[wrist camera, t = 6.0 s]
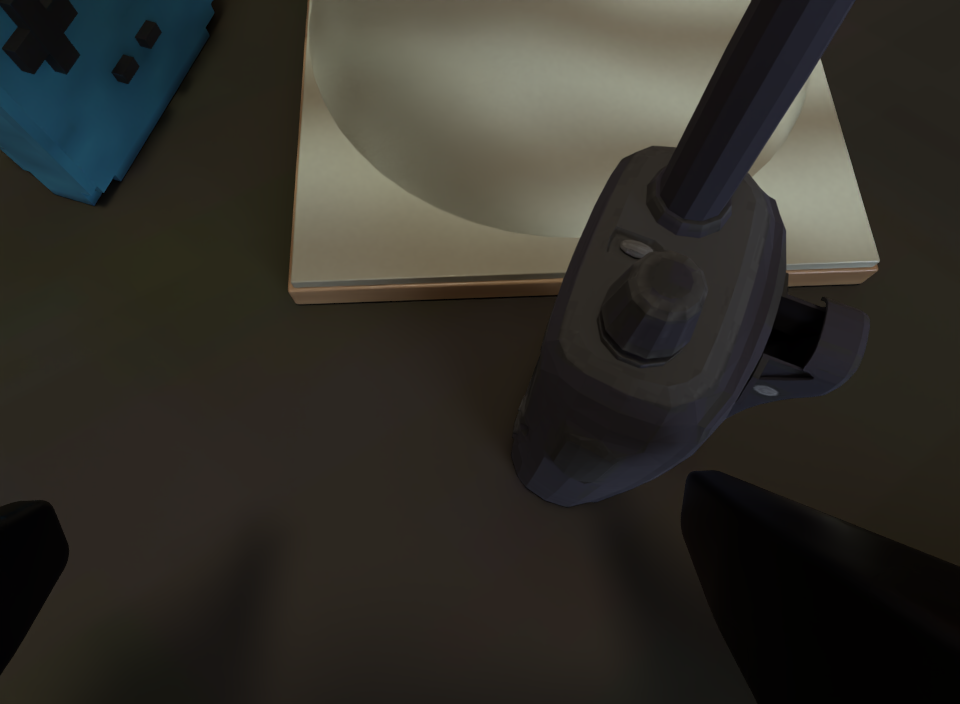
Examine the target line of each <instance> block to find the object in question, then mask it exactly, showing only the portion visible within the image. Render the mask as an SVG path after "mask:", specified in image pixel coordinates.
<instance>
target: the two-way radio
mask: <svg viewBox="0 0 960 704" xmlns="http://www.w3.org/2000/svg"><path fill="white" fill-rule="evenodd" d="M854 2H855V0H751V2H750V4H749V6H748V8H747V10H746V11H745V13H744V15H743V17H742V19H741V21H740V23H739V25H738V26H737V28H736V30H735V32H734V34H733V36H732V38H731V40H730V41H729V43H728V45H727V47H726V49H725V51H724V53H723V55H722V57H721V59H720V61H719V63H718V65H717V67H716V69H715V71H714V73H713V75H712V77H711V79H710V81H709V83H708V85H707V87H706V89H705V91H704V93H703V95H702V97H701V99H700V101H699V103H698V105H697V107H696V109H695V111H694V113H693V115H692V117H691V119H690V121H689V123H688V125H687V127H686V129H685V131H684V133H683V135H682V137H681V139H680V141H679V143H678V145H677V147H666V146H650V147H648V148H645V149H643V150H640V151H637V152H635V153H633V154H631V155H629V156H627V157H625V158H623V159H621V161H620V162H619V164H618V165H617V167H616V168H615V170H614V171H613V172H612V174H611V175H610V177H609V179H608V181H607V183H606V185H605V186H604V188H603V190H602V192H601V194H600V196H599V198H598V200H597V201H596V203H595V205H594V208H593V210H592V212H591V214H590V217H589V219H588V221H587V223H586V226H585V228H584V230H583V232H582V235H581V237H580V239H579V241H578V244H577V246H576V248H575V251H574V253H573V256H572V258H571V261H570V263H569V266H568V268H567V271H566V273H565V276H564V278H563V281H562V284H561V287H560V290H559V293H558V296H557V299H556V302H555V304H554V307H553V310H552V313H551V316H550V319H549V322H548V325H547V329H546V332H545V336H544V339H543V343H542V346H541V354H540V357H539V359H538V362H537V365H536V367H535V370H534V372H533V375H532V378H531V381H530V384H529V386H528V389H527V391H526V394H525V396H524V397H523V399H522V401H521V404H520V406H519V409H518V411H519V413H518V415H517V417H516V420H515V423H514V429H513V436H512V438H513V439H514V442H513V447H512V453H511V456H512V460H513V463H514V466H515V469H516V472H517V475H518V477H519V478H520V480H521V481H522V482H523V484H524V485H525V487H527V488H528V489H529V490H531V491H532V492H534V493H535V494H537V495H538V496H539V497H541V498H542V499H544V500H546V501H549V502H552V503H555V504H558V505H561V506H565V507H570V506H575V505H579V504H583V503H587V502H594V503H596V502H598V501H601V500H604V499H606V498H609V497H612V496H614V495H617V494H620V493H623V492H626V491H628V490H631V489H633V488H635V487H637V486H639V485H641V484H644V483H646V482H649V481H651V480H653V479H655V478H657V477H658V476H660V475H662V474H664V473H665V472H667V471H669V470H670V469H672V468H673V467H675V466H676V465H678V464H679V463H681V462H682V461H684V460H685V459H687V458H688V457H690V456H691V455H693V454H694V453H695V452H696V451H697V450H698V448H699V447H700V446H701V445H702V444H703V443H704V442H705V441H706V440H707V439H708V437H709V436H710V435H711V434H712V433H713V432H714V431H715V430H716V429H717V427H718V426H719V425H720V424H721V423H722V422H723V421H724V420H725V419H726V418H728V417H730V416H732V415H734V414H736V413H738V412H740V411H742V410H744V409H747V408H750V407H753V406H756V405H759V404H764V403H768V402H772V401H777V400H784V399H791V398H804V397H815V396H821V395H825V394H827V393H829V392H831V391H833V390H835V389H836V388H838V387H840V386H841V385H843V384H844V383H845V382H846V381H847V380H848V379H849V378H850V377H851V376H852V375H853V374H854V373H855V371H856V370H857V369H858V367H859V365H860V363H861V360H862V358H863V355H864V351H865V348H866V344H867V340H868V334H869V329H870V319H869V317H868V315H867V314H865V313H864V312H863V311H861V310H859V309H856V308H853V307H850V306H848V305H845V304H842V303H839V302H836V301H833V300H831V299H828V298H825V297H822V299H821V300H822V301H825V303H826V307H820V306H817V305H814V304H812V303H809V302H806V301H804V300H801V299H798V298H796V297H793V296H791V295H788V279H789V273H786V228H785V226H784V223H783V221H782V218H781V216H780V213H779V209H778V206H777V203H776V200H775V199H773V198H771V197H770V196H768V195H767V194H766V193H765V192H764V191H763V190H762V189H761V188H760V187H759V185H758V184H757V183H756V182H755V180H754V179H753V178H752V177H751V175H750V174H749V173H748V171H749V170H750V168H751V167H752V165H753V164H754V162H755V160H756V159H757V157H758V156H759V154H760V153H761V151H762V149H763V148H764V146H765V145H766V143H767V142H768V140H769V139H770V137H771V135H772V134H773V132H774V131H775V129H776V128H777V126H778V124H779V123H780V121H781V120H782V118H783V117H784V115H785V114H786V112H787V110H788V109H789V107H790V106H791V104H792V103H793V101H794V99H795V98H796V96H797V95H798V93H799V92H800V90H801V89H802V87H803V85H804V84H805V82H806V81H807V79H808V78H809V76H810V74H811V73H812V71H813V70H814V68H815V66H816V65H817V63H818V61H819V60H820V58H821V56H822V55H823V53H824V51H825V50H826V48H827V46H828V45H829V43H830V41H831V40H832V38H833V37H834V35H835V33H836V32H837V30H838V28H839V27H840V25H841V23H842V22H843V20H844V18H845V17H846V15H847V13H848V12H849V10H850V8H851V7H852V5H853V3H854Z"/></svg>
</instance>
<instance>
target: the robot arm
mask: <svg viewBox="0 0 960 704" xmlns="http://www.w3.org/2000/svg"><path fill="white" fill-rule="evenodd" d="M681 529H682V534H683V537H684V540H685V543H686V545H687V548H688V551H689V553H690V556H691V559H692V561H693V564H694V567H695V569H696V572H697V575H698V577H699V580H700V583H701V585H702V588H703V591H704V594H705V596H706V599H707V602H708V604H709V607H710V609H711V612H712V614H713V617H714V619H715V621H716V623H717V625H718V627H719V630H720V632H721V634H722V636H723V638H724V640H725V641H726V643H727V645H728V647H729V649H730V651H731V653H732V655H733V657H734V659H735V661H736V663H737V665H738V667H739V668H740V670H741V672H742V674H743V676H744V678H745V680H746V682H747V684H748V686H749V688H750V690H751V692H752V693H753V695H754V697H755V699H756V701H757V703H758V704H960V567H959V566H957V565H954V564H951V563H949V562H946V561H944V560H941V559H939V558H936V557H934V556H931V555H929V554H926V553H924V552H921V551H919V550H916V549H914V548H911V547H909V546H906V545H904V544H901V543H899V542H896V541H894V540H891V539H889V538H886V537H883V536H881V535H878V534H876V533H873V532H871V531H868V530H866V529H863V528H861V527H858V526H856V525H853V524H851V523H848V522H846V521H843V520H841V519H838V518H836V517H833V516H831V515H828V514H826V513H823V512H821V511H818V510H815V509H813V508H810V507H808V506H805V505H803V504H800V503H798V502H795V501H793V500H790V499H788V498H785V497H783V496H780V495H778V494H775V493H773V492H770V491H768V490H765V489H763V488H760V487H758V486H755V485H753V484H750V483H747V482H745V481H742V480H740V479H737V478H735V477H732V476H730V475H727V474H725V473H722V472H720V471H715V470H710V471H693V472H691V473H690V474H689V475H688V477H687V479H686V484H685V491H684V498H683V505H682V512H681ZM68 556H69V546H68V543H67V540H66V537H65V535H64V532H63V530H62V528H61V525H60V523H59V520H58V518H57V515H56V513H55V510H54V508H53V506H52V505H51V504H50V503H49V502H47V501H44V500H35V501H18V502H13V503H10V504H7V505H4V506H1V507H0V675H1V673H2V672H3V670H4V669H5V667H6V666H7V665H8V663H9V662H10V660H11V659H12V657H13V656H14V654H15V652H16V651H17V649H18V647H19V646H20V644H21V643H22V641H23V639H24V637H25V636H26V634H27V632H28V631H29V629H30V627H31V625H32V624H33V622H34V620H35V618H36V617H37V615H38V613H39V611H40V610H41V608H42V606H43V605H44V603H45V601H46V599H47V598H48V596H49V594H50V592H51V591H52V589H53V587H54V585H55V584H56V582H57V580H58V579H59V577H60V575H61V573H62V572H63V570H64V568H65V566H66V564H67V561H68Z"/></svg>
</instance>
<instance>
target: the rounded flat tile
mask: <svg viewBox="0 0 960 704" xmlns="http://www.w3.org/2000/svg"><path fill="white" fill-rule="evenodd" d="M750 2H751V0H308V3H307V17H306V32H305V46H304V61H303V76H302V90H301V105H300V119H299V134H298V149H297V163H296V178H295V192H294V207H293V222H292V236H291V251H290V265H289V280H288V292H289V294H290V295H291V297H292V298H293V300H294V301H295V303H296V304H320V303H348V302H375V301H402V300H430V299H457V298H485V297H512V296H539V295H558V293H559V290H560V287H561V284H562V281H563V278H564V276H565V273H566V271H567V268H568V266H569V263H570V261H571V258H572V256H573V253H574V251H575V248H576V246H577V244H578V241H579V239H580V237H581V235H582V232H583V230H584V228H585V226H586V223H587V221H588V219H589V217H590V214H591V212H592V210H593V208H594V205H595V203H596V201H597V200H598V198H599V196H600V194H601V192H602V190H603V188H604V186H605V185H606V183H607V181H608V179H609V177H610V175H611V174H612V172H613V171H614V170H615V168H616V167H617V165H618V164H619V162H620V161H621V159H623V158H625V157H627V156H629V155H631V154H633V153H635V152H637V151H640V150H643V149H645V148H648V147H650V146H666V147H677V145H678V143H679V141H680V139H681V137H682V135H683V133H684V131H685V129H686V127H687V125H688V123H689V121H690V119H691V117H692V115H693V113H694V111H695V109H696V107H697V105H698V103H699V101H700V99H701V97H702V95H703V93H704V91H705V89H706V87H707V85H708V83H709V81H710V79H711V77H712V75H713V73H714V71H715V69H716V67H717V65H718V63H719V61H720V59H721V57H722V55H723V53H724V51H725V49H726V47H727V45H728V43H729V41H730V40H731V38H732V36H733V34H734V32H735V30H736V28H737V26H738V25H739V23H740V21H741V19H742V17H743V15H744V13H745V11H746V10H747V8H748V6H749V4H750ZM748 173H749V174H750V175H751V177H752V178H753V179H754V180H755V182H756V183H757V184H758V185H759V187H760V188H761V189H762V190H763V191H764V192H765V193H766V194H767V195H768V196H770V197H771V198H773V199H775V200H776V203H777V206H778V209H779V213H780V216H781V218H782V221H783V223H784V226H785V228H786V273H789V279H788V286H814V285H841V284H860V283H862V282H864V281H865V280H866V279H868V278H869V277H870V276H871V275H873V274H874V273H875V272H877V271H878V266H877V263H878V262H880V259H879V256H878V252H877V249H876V246H875V242H874V239H873V235H872V232H871V229H870V225H869V222H868V218H867V215H866V212H865V208H864V205H863V202H862V198H861V195H860V191H859V188H858V185H857V181H856V178H855V174H854V171H853V168H852V164H851V161H850V157H849V154H848V151H847V147H846V144H845V141H844V137H843V134H842V130H841V127H840V124H839V120H838V117H837V113H836V110H835V107H834V103H833V100H832V96H831V93H830V90H829V86H828V83H827V80H826V76H825V73H824V69H823V66H822V63H821V59H820V60H819V61H818V63H817V65H816V66H815V68H814V70H813V71H812V73H811V74H810V76H809V78H808V79H807V81H806V82H805V84H804V85H803V87H802V89H801V90H800V92H799V93H798V95H797V96H796V98H795V99H794V101H793V103H792V104H791V106H790V107H789V109H788V110H787V112H786V114H785V115H784V117H783V118H782V120H781V121H780V123H779V124H778V126H777V128H776V129H775V131H774V132H773V134H772V135H771V137H770V139H769V140H768V142H767V143H766V145H765V146H764V148H763V149H762V151H761V153H760V154H759V156H758V157H757V159H756V160H755V162H754V164H753V165H752V167H751V168H750V170H749V171H748Z"/></svg>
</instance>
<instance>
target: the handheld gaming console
mask: <svg viewBox="0 0 960 704" xmlns="http://www.w3.org/2000/svg"><path fill="white" fill-rule="evenodd" d="M212 1H213V0H0V149H1V150H2V151H3V152H4V153H5V154H6V155H8V156H9V157H10V158H11V159H12V160H13V161H14V162H15V163H16V164H18V165H19V166H20V167H21V168H22V169H23V170H26V171H30V172H31V173H32V174H33V175H34V176H35V177H36V178H37V179H38V180H39V181H41V182H42V183H43V184H44V185H45V186H46V187H47V188H48V189H49V190H51V191H52V192H53V193H54V194H56V195H59V196H63V197H66V198H69V199H73V200H76V201H80V202H83V203H86V204H90V205H93V206H95V204H96V202H97V201H98V199H99V198H100V196H101V194H102V193H104V192H105V190H106V189H107V187H108V185H109V184H110V182H111V181H112V179H114V180H118V181H122V179H123V178H124V176H125V174H126V173H127V171H128V169H129V168H130V166H131V164H132V163H133V161H134V159H135V158H136V156H137V155H138V153H139V151H140V150H141V148H142V146H143V145H144V143H145V141H146V140H147V138H148V136H149V135H150V133H151V132H152V130H153V128H154V127H155V125H156V123H157V122H158V120H159V118H160V117H161V115H162V113H163V112H164V110H165V109H166V107H167V105H168V104H169V102H170V100H171V99H172V97H173V95H174V94H175V92H176V90H177V89H178V87H179V86H180V84H181V82H182V81H183V79H184V77H185V76H186V74H187V72H188V71H189V69H190V67H191V66H192V64H193V63H194V61H195V59H196V58H197V56H198V54H199V53H200V51H201V49H202V48H203V46H204V44H205V43H206V41H207V40H208V38H209V36H210V35H209V33H208V31H207V29H206V26H207V24H208V23H209V21H210V20H211V18H212V16H213V15H214V13H215V12H214V10H213V8H212V6H211V3H212Z"/></svg>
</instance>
